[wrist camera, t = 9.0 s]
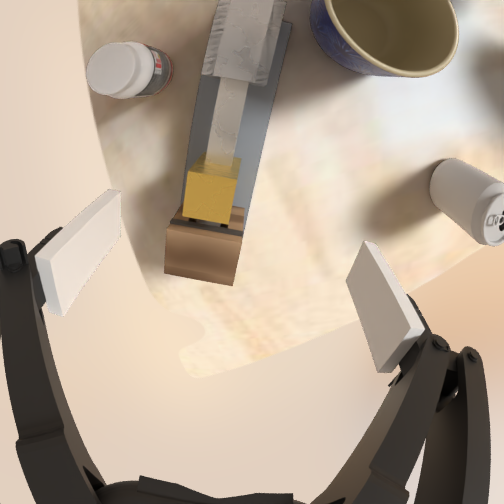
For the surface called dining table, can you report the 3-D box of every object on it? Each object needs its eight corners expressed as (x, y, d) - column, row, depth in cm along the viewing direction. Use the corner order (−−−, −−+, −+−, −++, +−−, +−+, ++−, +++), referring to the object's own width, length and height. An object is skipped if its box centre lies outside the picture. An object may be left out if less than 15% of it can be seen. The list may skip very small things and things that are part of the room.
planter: (389, 96, 27) (441, 104, 18) (287, 54, 26) (303, 35, 16) (414, 14, 21) (468, -1, 12) (318, -31, 20) (343, -73, 10)
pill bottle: (168, 42, 25) (133, 25, 16) (180, 86, 27) (149, 85, 19) (121, 60, 25) (75, 55, 17) (133, 103, 28) (89, 111, 20)
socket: (187, 194, 34) (166, 227, 26) (245, 204, 35) (242, 241, 27) (182, 232, 36) (164, 273, 29) (237, 242, 37) (232, 286, 29)
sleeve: (229, 13, 23) (221, -9, 16) (279, 22, 24) (286, 1, 17) (213, 78, 27) (201, 74, 20) (263, 87, 28) (266, 84, 21)
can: (461, 209, 34) (512, 251, 24) (422, 207, 34) (471, 254, 24) (470, 159, 30) (528, 191, 20) (430, 153, 30) (489, 185, 20)
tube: (228, 33, 23) (218, 14, 16) (268, 40, 23) (272, 22, 16) (193, 227, 34) (177, 264, 27) (226, 233, 34) (219, 272, 27)
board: (216, 12, 23) (216, 10, 22) (291, 24, 24) (292, 23, 23) (178, 231, 36) (177, 233, 36) (241, 243, 37) (240, 245, 37)
